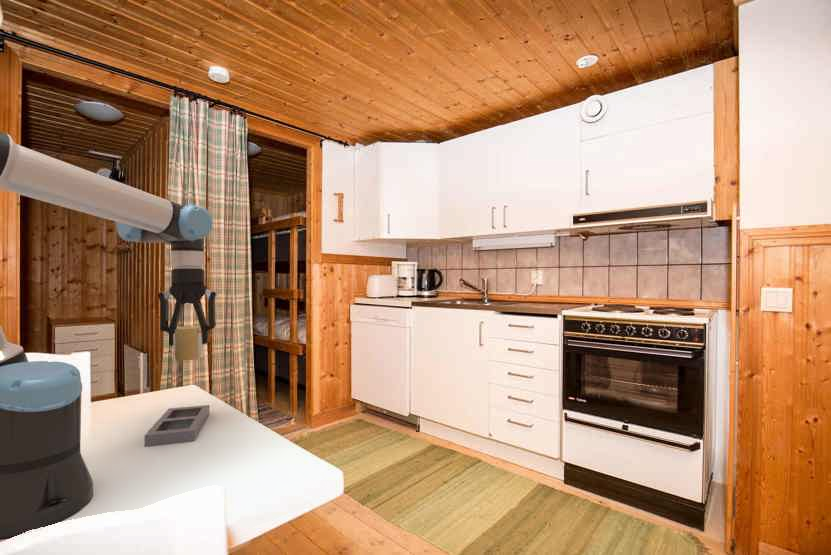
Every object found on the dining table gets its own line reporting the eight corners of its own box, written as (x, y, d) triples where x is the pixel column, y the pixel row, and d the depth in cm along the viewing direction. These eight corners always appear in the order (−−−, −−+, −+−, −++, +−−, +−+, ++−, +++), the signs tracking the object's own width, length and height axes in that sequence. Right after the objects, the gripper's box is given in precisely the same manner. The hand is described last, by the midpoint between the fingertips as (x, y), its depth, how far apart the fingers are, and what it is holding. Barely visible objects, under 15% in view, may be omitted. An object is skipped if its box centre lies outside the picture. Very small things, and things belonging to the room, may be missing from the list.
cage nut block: (197, 359, 102) (197, 328, 102) (175, 360, 101) (175, 329, 101) (202, 355, 107) (201, 326, 107) (181, 357, 106) (180, 326, 106)
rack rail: (194, 441, 93) (194, 430, 93) (144, 446, 90) (144, 435, 90) (209, 413, 112) (209, 404, 112) (168, 417, 109) (168, 408, 109)
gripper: (228, 268, 110) (229, 352, 110) (153, 268, 105) (154, 356, 105) (223, 267, 103) (224, 357, 103) (142, 267, 98) (144, 362, 98)
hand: (189, 357), depth 104 cm, fingers closed on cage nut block, 5 cm apart
